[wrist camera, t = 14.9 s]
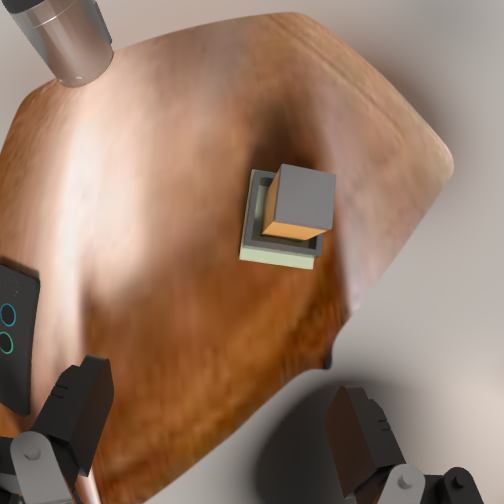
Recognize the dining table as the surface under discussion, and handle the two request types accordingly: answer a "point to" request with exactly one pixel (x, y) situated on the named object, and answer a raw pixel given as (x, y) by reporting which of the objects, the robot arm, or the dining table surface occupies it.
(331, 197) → the chute block
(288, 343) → the dining table surface
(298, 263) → the cream flat slab
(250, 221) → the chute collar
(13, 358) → the smart home device
